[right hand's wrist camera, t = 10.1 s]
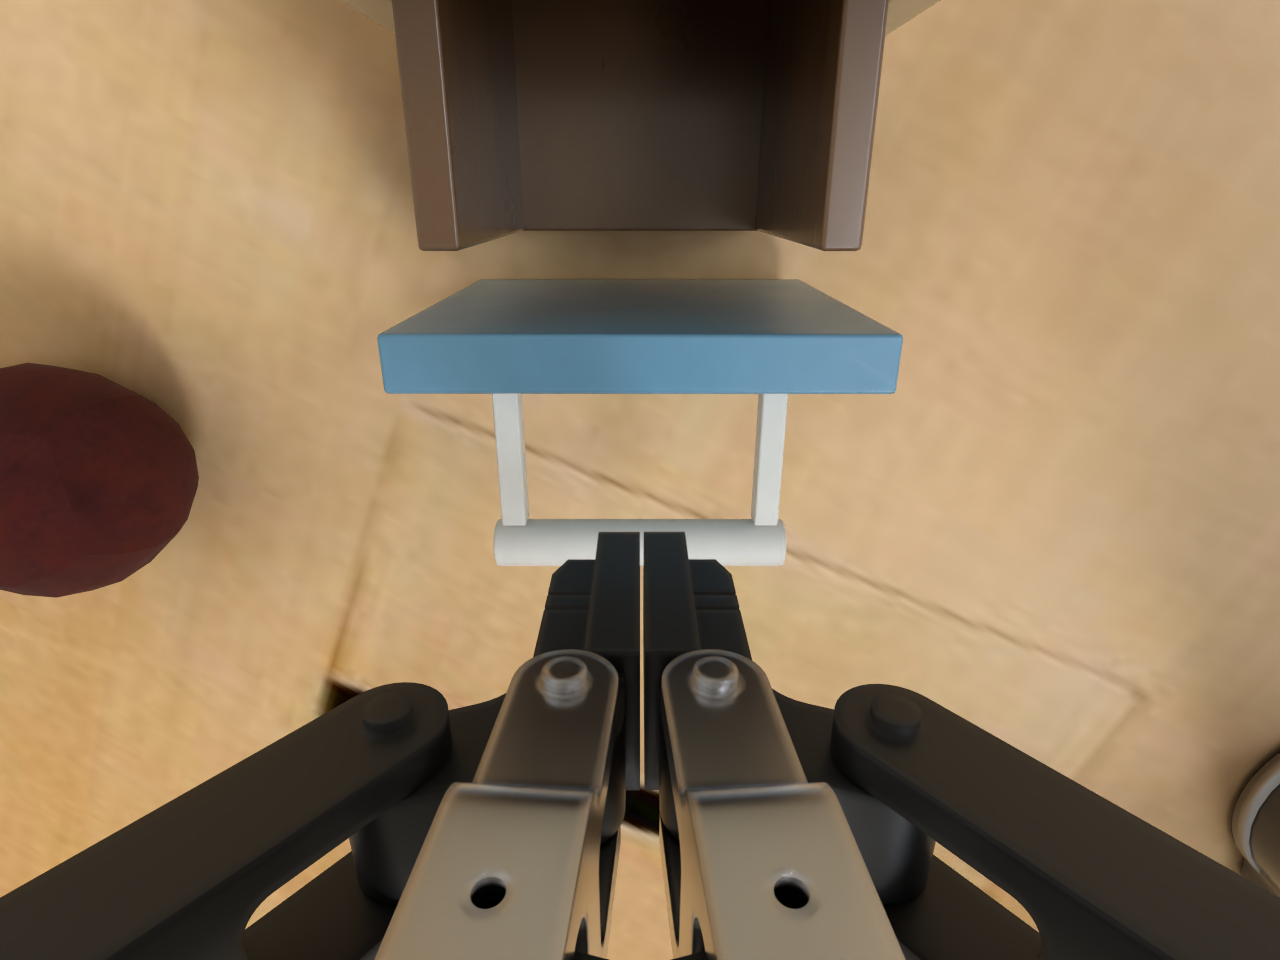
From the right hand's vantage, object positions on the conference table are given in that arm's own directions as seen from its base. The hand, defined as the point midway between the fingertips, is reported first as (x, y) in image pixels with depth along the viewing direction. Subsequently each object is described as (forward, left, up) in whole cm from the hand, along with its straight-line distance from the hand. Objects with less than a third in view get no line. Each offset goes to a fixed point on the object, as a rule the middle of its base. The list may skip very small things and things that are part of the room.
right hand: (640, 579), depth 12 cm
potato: (-2, +18, -13) cm, 23 cm away
